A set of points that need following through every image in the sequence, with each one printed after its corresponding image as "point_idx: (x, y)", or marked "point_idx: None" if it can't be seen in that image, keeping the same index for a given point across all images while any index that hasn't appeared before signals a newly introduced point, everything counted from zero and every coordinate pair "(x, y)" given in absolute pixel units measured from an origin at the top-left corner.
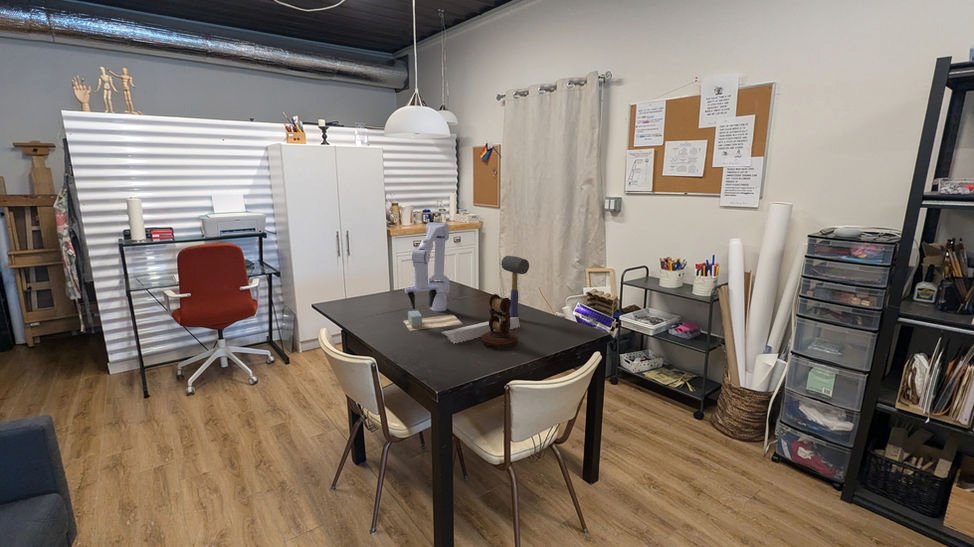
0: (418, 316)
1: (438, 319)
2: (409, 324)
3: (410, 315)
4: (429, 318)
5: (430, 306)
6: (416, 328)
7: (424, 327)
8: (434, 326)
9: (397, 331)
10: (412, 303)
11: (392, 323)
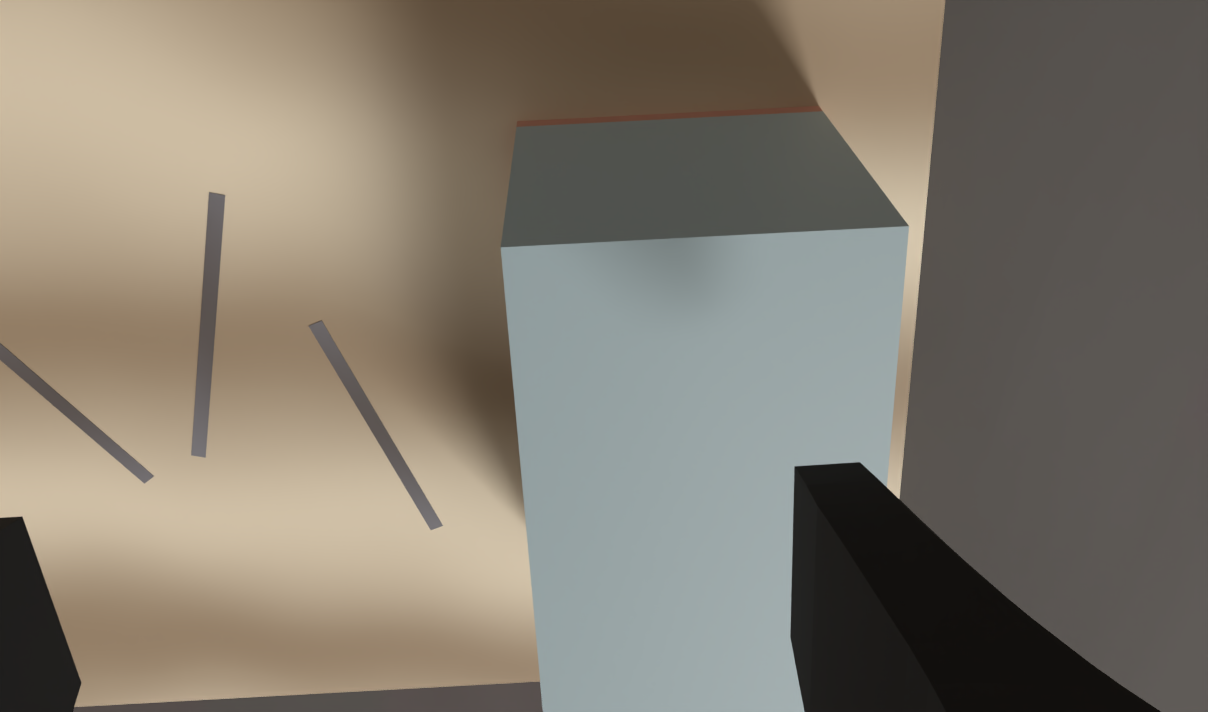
0: (637, 230)
1: None
2: None
3: (891, 405)
4: (251, 636)
5: (17, 559)
6: (709, 7)
7: (461, 23)
8: (148, 18)
9: (1151, 168)
10: (1031, 620)
11: None
